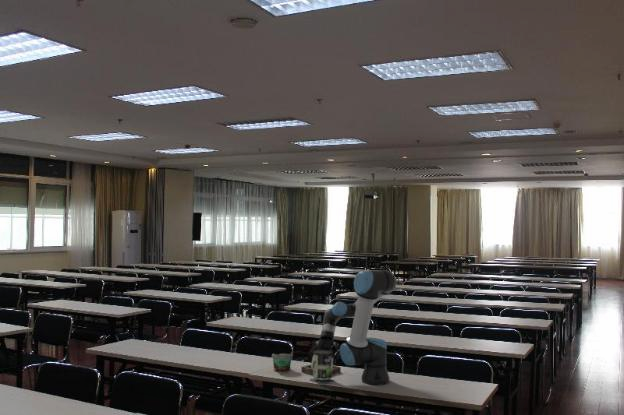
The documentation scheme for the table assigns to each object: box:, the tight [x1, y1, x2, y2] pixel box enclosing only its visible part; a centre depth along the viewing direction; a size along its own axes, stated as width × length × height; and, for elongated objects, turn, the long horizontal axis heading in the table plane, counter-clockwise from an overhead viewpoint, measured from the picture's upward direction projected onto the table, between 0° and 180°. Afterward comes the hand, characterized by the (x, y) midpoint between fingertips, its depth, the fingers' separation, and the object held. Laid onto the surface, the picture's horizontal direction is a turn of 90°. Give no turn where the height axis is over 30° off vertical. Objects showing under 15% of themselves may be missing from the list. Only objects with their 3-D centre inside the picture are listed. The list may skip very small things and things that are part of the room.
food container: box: [271, 352, 293, 373], centre depth 342 cm, size 12×6×10 cm, turn 105°
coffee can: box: [312, 349, 333, 380], centre depth 323 cm, size 10×10×14 cm
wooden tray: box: [301, 364, 342, 376], centre depth 340 cm, size 16×16×3 cm
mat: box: [309, 378, 336, 386], centre depth 322 cm, size 11×9×1 cm
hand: (321, 368), depth 320 cm, fingers closed on coffee can, 10 cm apart
